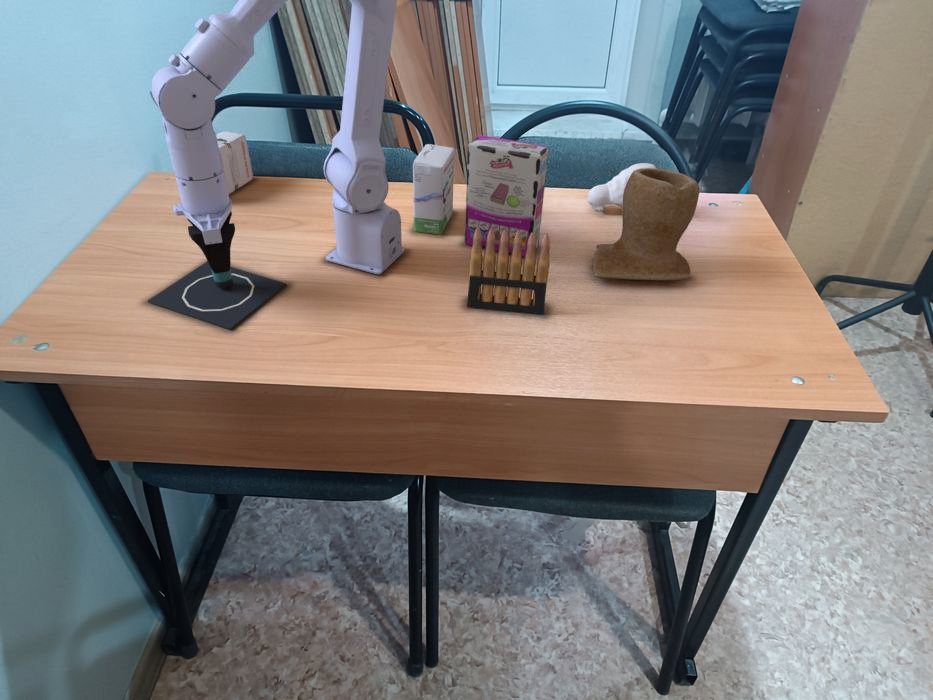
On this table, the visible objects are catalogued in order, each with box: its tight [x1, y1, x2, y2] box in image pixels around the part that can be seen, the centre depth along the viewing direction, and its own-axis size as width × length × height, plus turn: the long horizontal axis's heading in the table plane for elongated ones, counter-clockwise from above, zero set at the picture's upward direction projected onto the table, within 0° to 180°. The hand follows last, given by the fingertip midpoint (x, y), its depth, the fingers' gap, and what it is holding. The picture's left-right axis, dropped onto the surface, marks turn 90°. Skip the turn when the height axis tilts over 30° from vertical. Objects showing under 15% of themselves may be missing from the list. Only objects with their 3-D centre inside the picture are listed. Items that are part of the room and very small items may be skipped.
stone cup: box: [592, 168, 701, 281], centre depth 95 cm, size 15×12×15 cm
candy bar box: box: [464, 134, 550, 258], centre depth 99 cm, size 11×5×16 cm, turn 68°
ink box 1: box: [216, 131, 254, 195], centre depth 113 cm, size 9×5×12 cm
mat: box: [147, 260, 288, 331], centre depth 90 cm, size 14×12×1 cm
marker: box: [212, 270, 233, 288], centre depth 88 cm, size 2×2×9 cm
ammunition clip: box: [466, 227, 551, 316], centre depth 86 cm, size 11×2×12 cm, turn 83°
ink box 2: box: [412, 143, 455, 235], centre depth 105 cm, size 8×5×12 cm, turn 168°
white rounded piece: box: [587, 162, 657, 214], centre depth 112 cm, size 6×8×12 cm
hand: (221, 265), depth 89 cm, fingers closed on marker, 2 cm apart
